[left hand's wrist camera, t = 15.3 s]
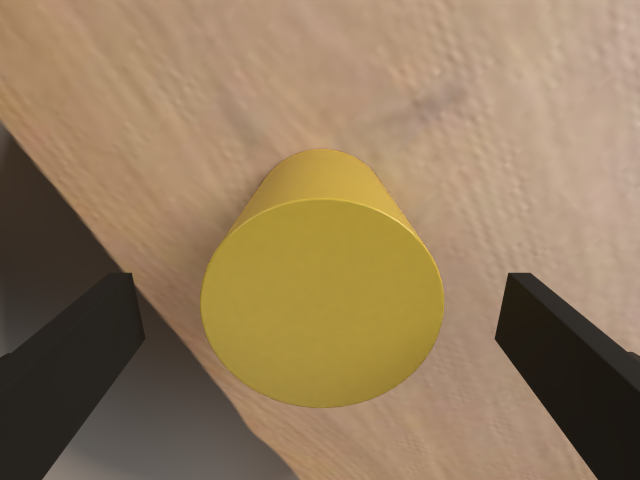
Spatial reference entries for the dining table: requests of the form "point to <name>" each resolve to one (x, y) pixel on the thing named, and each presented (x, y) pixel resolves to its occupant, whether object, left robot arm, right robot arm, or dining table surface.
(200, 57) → the dining table surface
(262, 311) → the cylinder
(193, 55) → the dining table surface
